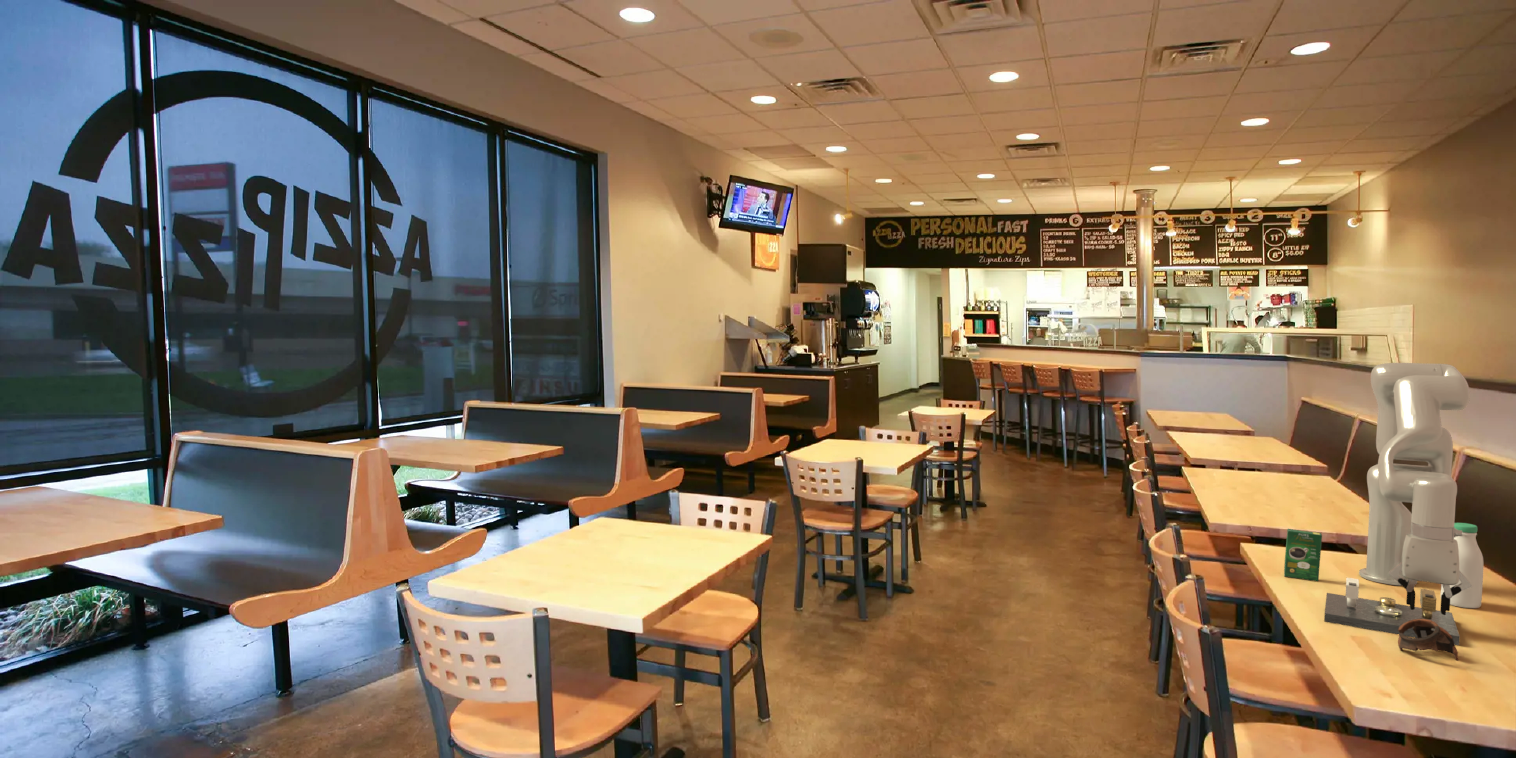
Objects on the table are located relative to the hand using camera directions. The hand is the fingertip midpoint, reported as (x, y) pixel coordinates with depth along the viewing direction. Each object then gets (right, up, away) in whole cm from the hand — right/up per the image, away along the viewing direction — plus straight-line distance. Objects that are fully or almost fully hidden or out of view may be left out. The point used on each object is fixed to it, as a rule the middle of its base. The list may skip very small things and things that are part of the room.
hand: (1427, 609), depth 187 cm
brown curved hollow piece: (-11, -5, -14) cm, 19 cm away
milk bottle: (+22, -3, +17) cm, 28 cm away
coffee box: (-4, -2, +37) cm, 37 cm away
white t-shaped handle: (-11, -1, +8) cm, 14 cm away
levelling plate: (-6, -4, +4) cm, 8 cm away
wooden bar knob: (0, -2, 0) cm, 2 cm away
